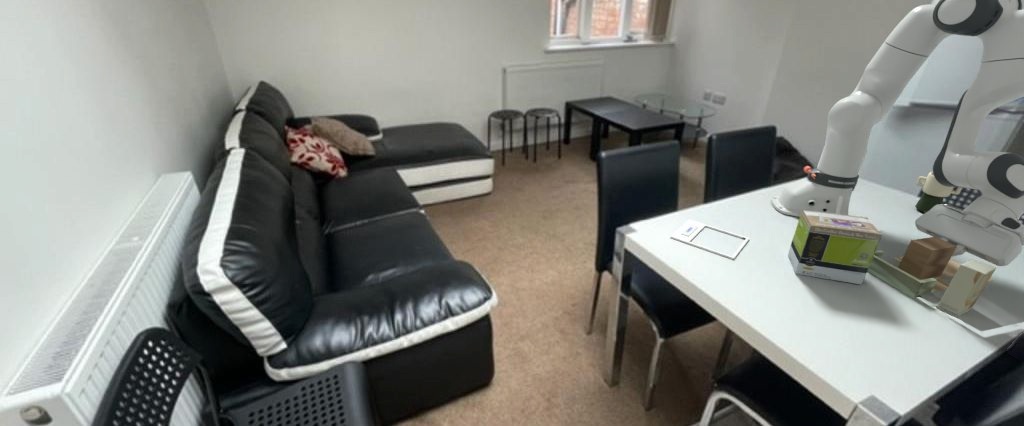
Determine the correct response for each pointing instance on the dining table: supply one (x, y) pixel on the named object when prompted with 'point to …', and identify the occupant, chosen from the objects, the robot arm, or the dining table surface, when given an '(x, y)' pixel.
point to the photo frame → (694, 228)
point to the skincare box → (966, 287)
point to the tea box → (833, 246)
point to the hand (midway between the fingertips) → (939, 256)
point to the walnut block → (926, 257)
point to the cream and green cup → (932, 192)
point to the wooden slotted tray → (910, 276)
